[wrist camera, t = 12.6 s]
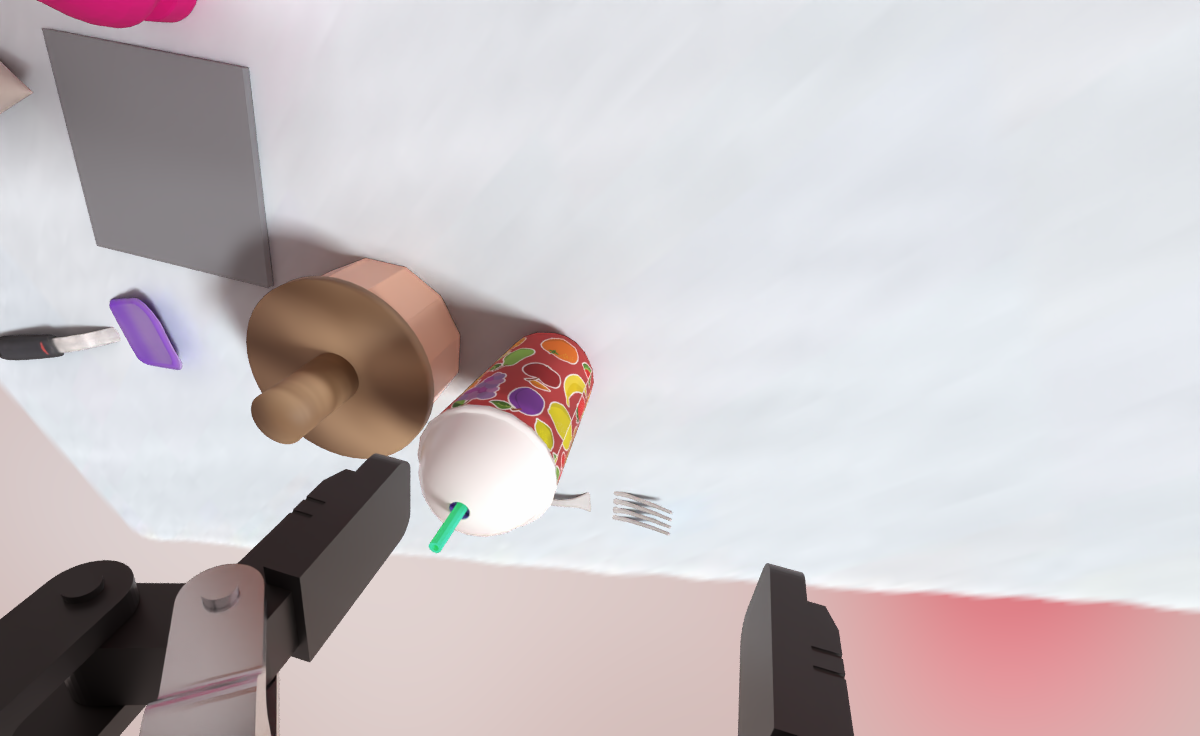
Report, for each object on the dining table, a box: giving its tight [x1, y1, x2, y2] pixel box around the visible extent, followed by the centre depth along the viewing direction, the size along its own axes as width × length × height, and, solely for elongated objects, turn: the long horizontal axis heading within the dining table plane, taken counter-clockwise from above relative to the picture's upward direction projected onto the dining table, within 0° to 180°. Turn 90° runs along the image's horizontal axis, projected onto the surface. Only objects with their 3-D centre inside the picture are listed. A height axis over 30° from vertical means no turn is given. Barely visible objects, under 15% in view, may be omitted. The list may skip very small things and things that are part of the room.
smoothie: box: [418, 333, 594, 553], centre depth 38 cm, size 8×8×20 cm
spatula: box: [0, 298, 182, 370], centre depth 56 cm, size 24×7×2 cm, turn 101°
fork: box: [551, 492, 672, 535], centre depth 53 cm, size 3×24×2 cm, turn 91°
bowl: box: [322, 258, 460, 403], centre depth 46 cm, size 12×12×6 cm
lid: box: [246, 276, 434, 459], centre depth 41 cm, size 14×14×7 cm
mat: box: [42, 29, 273, 288], centre depth 46 cm, size 16×16×1 cm
